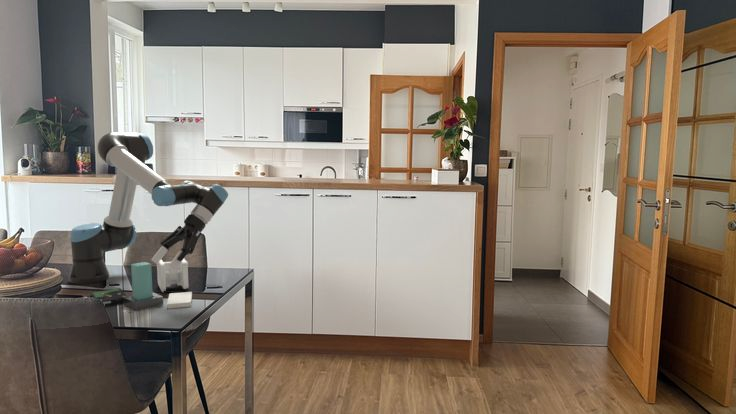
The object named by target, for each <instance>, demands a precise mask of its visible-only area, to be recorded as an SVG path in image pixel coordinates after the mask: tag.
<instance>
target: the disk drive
mask: <svg viewBox="0 0 736 414" xmlns="http://www.w3.org/2000/svg"><path fill="white" fill-rule="evenodd" d="M90 296H91V297H96V298H100V300H101V301H102V302H103V303H104V304H105V307H110V306H111V307H112V306H115V305H116V306H117V305H123V297H125V296H128V295H127V294H126V292H124V291H123V290H122V289H121V288H120V287H119V288H112V289H105V290H100V291H93V292H92V293H91V294H90Z"/></svg>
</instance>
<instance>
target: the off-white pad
mask: <svg viewBox="0 0 736 414" xmlns="http://www.w3.org/2000/svg"><path fill="white" fill-rule="evenodd" d="M192 300H193V292H192V291H185V292H171V293H169V294H168V298H167V302H166V309H175V308H176V309H177V308H186V307H187V308H188V307H192Z"/></svg>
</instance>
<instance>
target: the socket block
mask: <svg viewBox="0 0 736 414" xmlns="http://www.w3.org/2000/svg"><path fill="white" fill-rule="evenodd" d="M122 305H123V306H124V307H127V308H129V309H131V310H132V311H134V312H136V311H142V310H145V309H150V308H154V307H158V306H163V305H164V297H163V296H162V295H160V294H158V293H156V292H153V297H151V298H147V299H142V300H136V299H134V298H133V294H130V295H127V296H125V297H123V304H122Z"/></svg>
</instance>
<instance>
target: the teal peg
mask: <svg viewBox="0 0 736 414" xmlns="http://www.w3.org/2000/svg"><path fill="white" fill-rule="evenodd" d="M130 267H131V269H130V271H131V272H130V273H131V286H132V289H131V290H132V295H133V298H134V299H136V300H142V299H147V298H151V297H153V293H154V291H153V277H152V276H153V275H152V274H153V273H152V271H153V270H152V264H151V263H150V262H147V261H141V262H135V263H131V264H130Z"/></svg>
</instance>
